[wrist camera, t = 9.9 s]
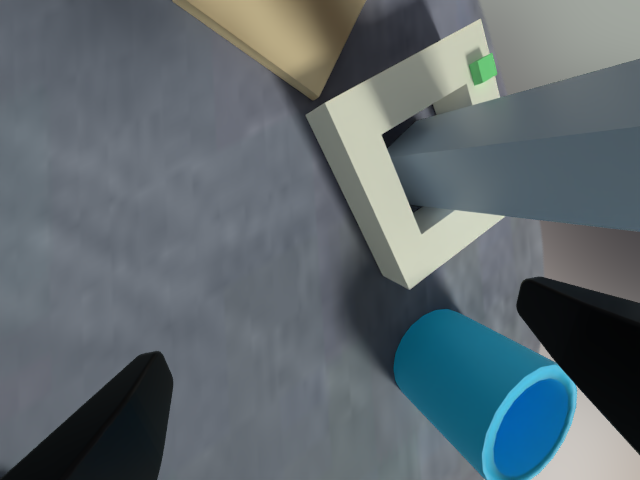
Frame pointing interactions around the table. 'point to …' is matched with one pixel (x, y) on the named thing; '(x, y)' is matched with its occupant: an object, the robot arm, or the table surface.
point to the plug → (534, 153)
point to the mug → (486, 394)
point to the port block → (376, 165)
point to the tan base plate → (284, 34)
